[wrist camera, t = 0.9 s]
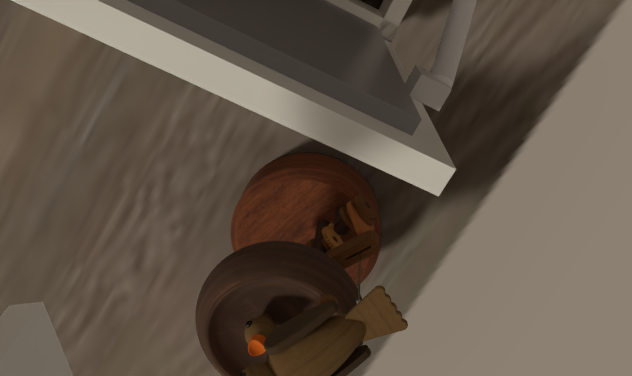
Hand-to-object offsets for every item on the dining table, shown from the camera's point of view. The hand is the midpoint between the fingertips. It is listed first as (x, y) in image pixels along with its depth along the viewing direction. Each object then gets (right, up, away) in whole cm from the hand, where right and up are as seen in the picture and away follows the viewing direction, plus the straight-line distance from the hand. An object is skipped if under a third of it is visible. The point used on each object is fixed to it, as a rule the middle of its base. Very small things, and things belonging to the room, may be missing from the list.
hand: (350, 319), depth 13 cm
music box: (-2, 0, +31) cm, 31 cm away
